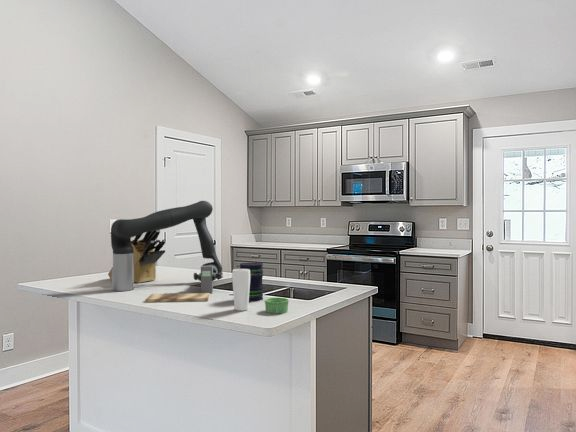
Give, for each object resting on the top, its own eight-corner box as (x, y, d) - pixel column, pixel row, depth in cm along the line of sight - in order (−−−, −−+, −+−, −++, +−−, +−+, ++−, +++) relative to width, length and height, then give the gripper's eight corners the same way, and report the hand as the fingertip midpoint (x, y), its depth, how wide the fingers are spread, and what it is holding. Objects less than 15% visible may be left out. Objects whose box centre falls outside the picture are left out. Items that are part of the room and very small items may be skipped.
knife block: (150, 285, 229) (150, 223, 229) (107, 279, 249) (107, 222, 248) (168, 282, 239) (167, 223, 238) (124, 277, 258) (124, 222, 258)
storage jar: (254, 302, 185) (254, 265, 185) (234, 300, 190) (234, 264, 190) (267, 298, 194) (267, 263, 193) (248, 296, 198) (248, 262, 198)
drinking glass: (236, 312, 167) (236, 271, 167) (229, 308, 173) (229, 269, 173) (253, 310, 170) (253, 270, 170) (246, 307, 176) (246, 268, 176)
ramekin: (259, 312, 167) (259, 300, 167) (273, 308, 175) (273, 296, 175) (280, 315, 162) (280, 303, 162) (293, 310, 170) (293, 298, 170)
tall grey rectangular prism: (200, 293, 205) (200, 267, 205) (201, 291, 210) (201, 265, 210) (212, 293, 205) (211, 266, 205) (212, 291, 210) (212, 265, 210)
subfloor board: (145, 302, 186) (145, 298, 186) (151, 296, 198) (151, 293, 198) (207, 301, 188) (207, 297, 188) (209, 295, 200) (209, 292, 200)
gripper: (194, 265, 221) (190, 270, 204) (224, 265, 223) (222, 269, 206) (194, 281, 221) (190, 287, 204) (224, 280, 223) (222, 286, 206)
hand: (206, 278), depth 205 cm, fingers closed on tall grey rectangular prism, 5 cm apart
